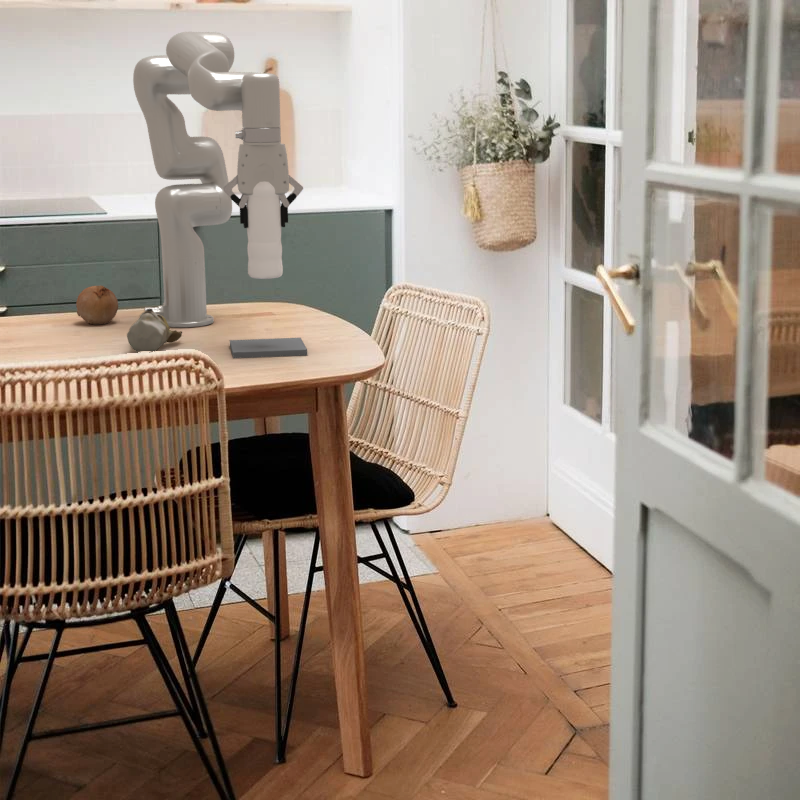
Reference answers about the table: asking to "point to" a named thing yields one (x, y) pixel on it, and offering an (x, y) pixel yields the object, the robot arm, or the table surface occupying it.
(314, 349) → the table surface
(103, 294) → the onion
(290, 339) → the slate mat
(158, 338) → the ceramic sculpture
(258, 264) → the water bottle
